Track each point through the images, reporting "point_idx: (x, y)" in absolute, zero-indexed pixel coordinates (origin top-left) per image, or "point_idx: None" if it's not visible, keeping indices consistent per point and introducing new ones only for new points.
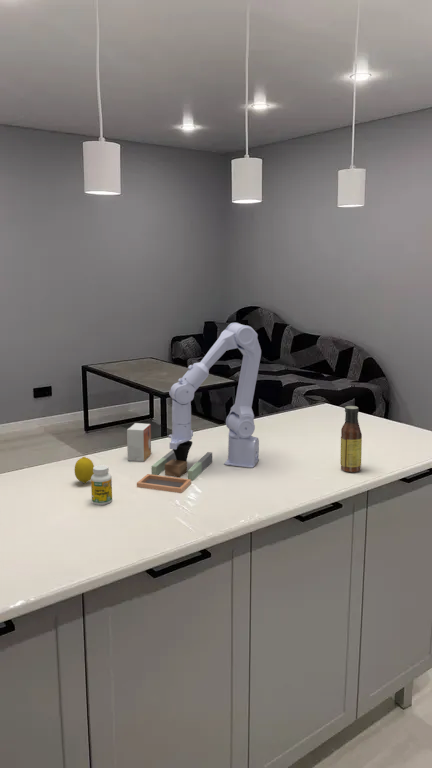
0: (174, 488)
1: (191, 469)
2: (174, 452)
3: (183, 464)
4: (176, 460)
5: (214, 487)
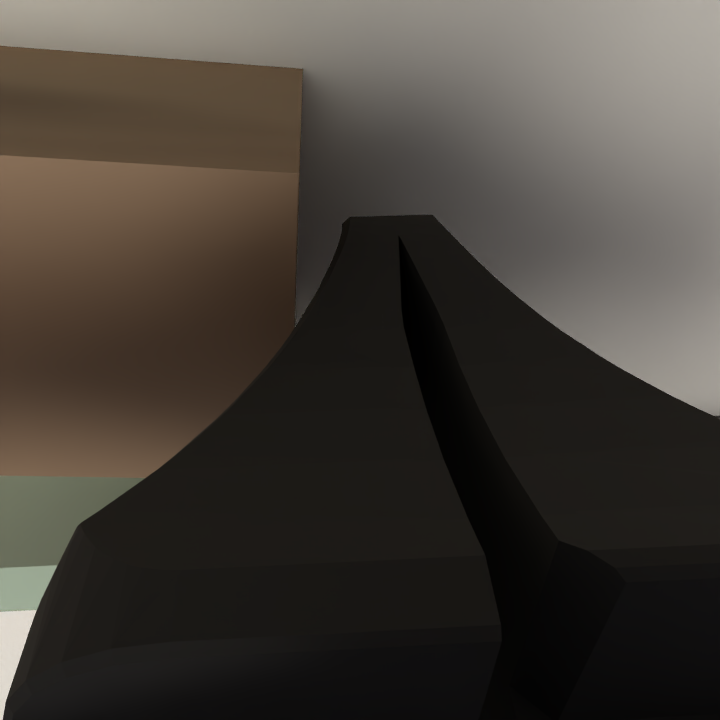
0: None
1: (25, 588)
2: (247, 392)
3: (121, 469)
4: (245, 302)
5: (21, 649)
